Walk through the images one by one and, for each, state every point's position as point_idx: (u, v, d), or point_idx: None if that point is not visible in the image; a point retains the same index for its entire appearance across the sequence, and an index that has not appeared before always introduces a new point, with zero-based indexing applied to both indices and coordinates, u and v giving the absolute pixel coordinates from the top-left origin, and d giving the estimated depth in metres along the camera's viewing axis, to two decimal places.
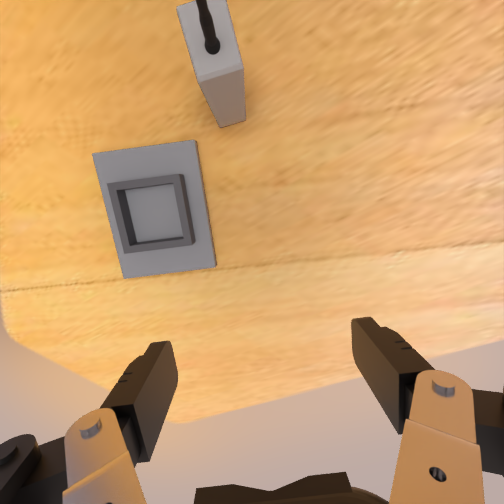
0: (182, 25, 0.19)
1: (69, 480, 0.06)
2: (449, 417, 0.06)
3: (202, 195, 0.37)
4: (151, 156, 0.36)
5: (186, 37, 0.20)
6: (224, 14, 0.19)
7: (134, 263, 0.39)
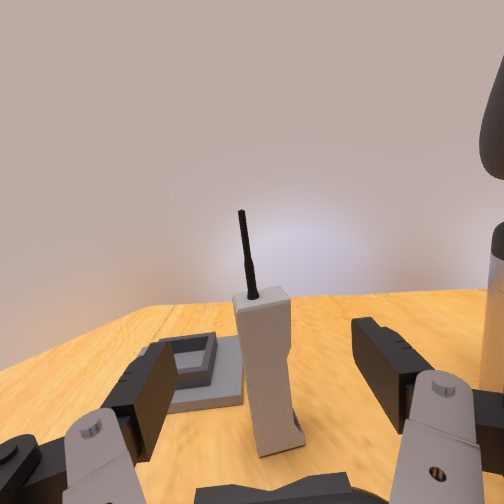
0: None
1: (69, 479, 0.06)
2: (450, 417, 0.06)
3: (184, 401, 0.34)
4: (233, 364, 0.39)
5: (260, 289, 0.27)
6: (274, 300, 0.24)
7: None
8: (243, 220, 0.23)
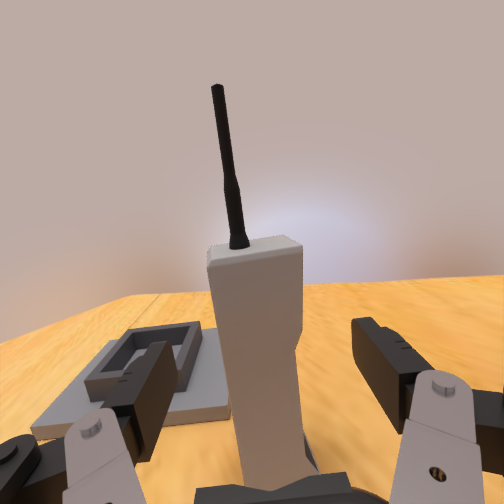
0: (265, 238, 0.17)
1: (69, 479, 0.06)
2: (449, 417, 0.06)
3: None
4: (220, 363, 0.29)
5: (253, 239, 0.17)
6: (274, 247, 0.14)
7: None
8: (220, 103, 0.13)
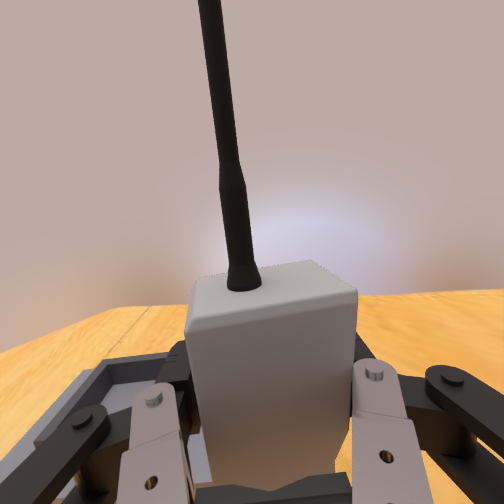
0: (283, 265, 0.11)
1: (130, 442, 0.06)
2: (384, 399, 0.07)
3: None
4: None
5: (264, 267, 0.11)
6: (307, 292, 0.08)
7: None
8: (215, 26, 0.07)
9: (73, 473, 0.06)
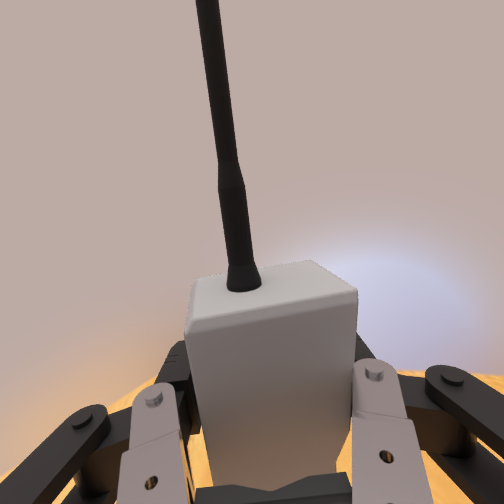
0: (283, 265, 0.11)
1: (131, 442, 0.06)
2: (384, 399, 0.07)
3: None
4: None
5: (264, 267, 0.11)
6: (307, 292, 0.08)
7: None
8: (212, 25, 0.07)
9: (73, 473, 0.06)
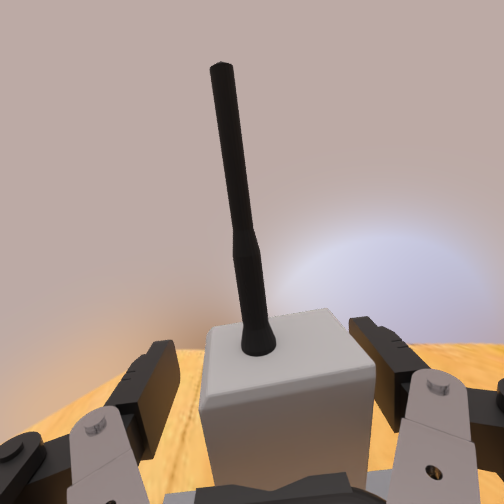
0: (298, 313, 0.11)
1: (73, 476, 0.06)
2: (444, 415, 0.06)
3: None
4: None
5: (279, 316, 0.11)
6: (322, 364, 0.08)
7: None
8: (227, 99, 0.07)
9: None
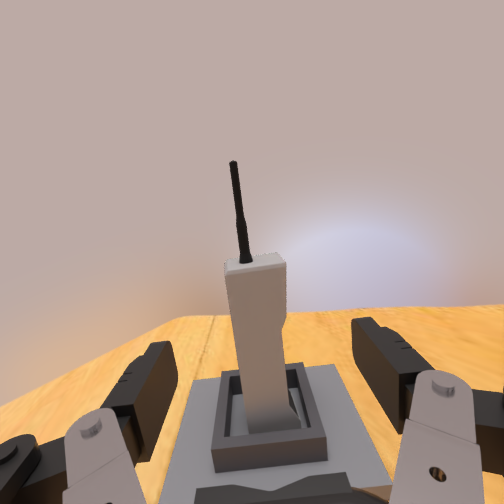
0: (264, 254, 0.24)
1: (70, 480, 0.06)
2: (449, 417, 0.06)
3: None
4: (346, 418, 0.26)
5: None
6: (268, 263, 0.21)
7: (208, 390, 0.32)
8: (235, 172, 0.21)
9: None
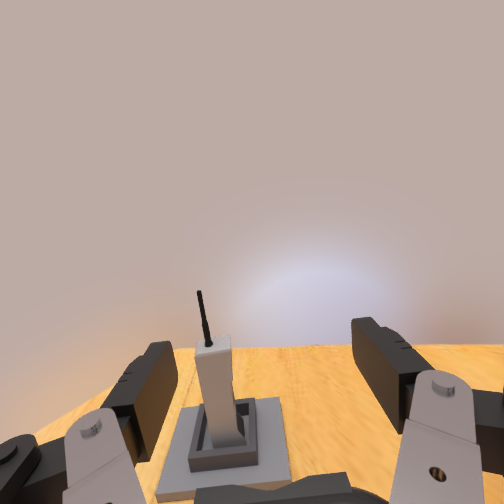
0: (222, 336, 0.39)
1: (69, 479, 0.06)
2: (449, 417, 0.06)
3: (235, 484, 0.35)
4: (276, 437, 0.40)
5: (216, 337, 0.39)
6: (220, 348, 0.36)
7: (191, 416, 0.46)
8: (200, 297, 0.35)
9: None
